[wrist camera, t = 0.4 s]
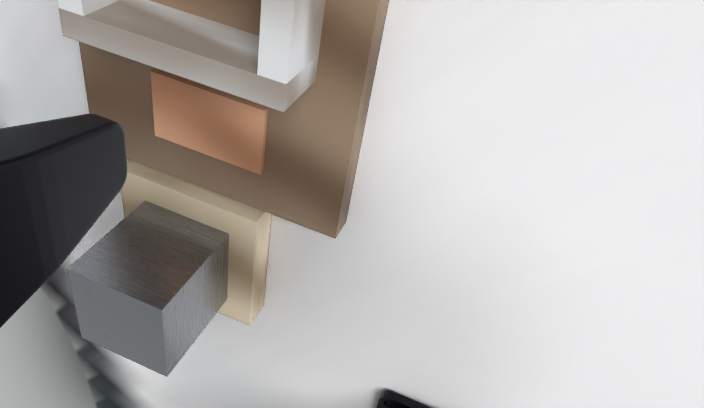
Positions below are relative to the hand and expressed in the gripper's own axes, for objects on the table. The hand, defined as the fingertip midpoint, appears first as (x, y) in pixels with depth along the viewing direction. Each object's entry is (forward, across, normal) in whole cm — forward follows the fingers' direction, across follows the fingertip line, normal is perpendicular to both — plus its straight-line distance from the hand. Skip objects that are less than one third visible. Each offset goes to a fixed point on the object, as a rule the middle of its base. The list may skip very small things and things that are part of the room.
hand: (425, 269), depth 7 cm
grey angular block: (+12, +11, +16) cm, 23 cm away
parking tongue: (+14, +11, +16) cm, 24 cm away
